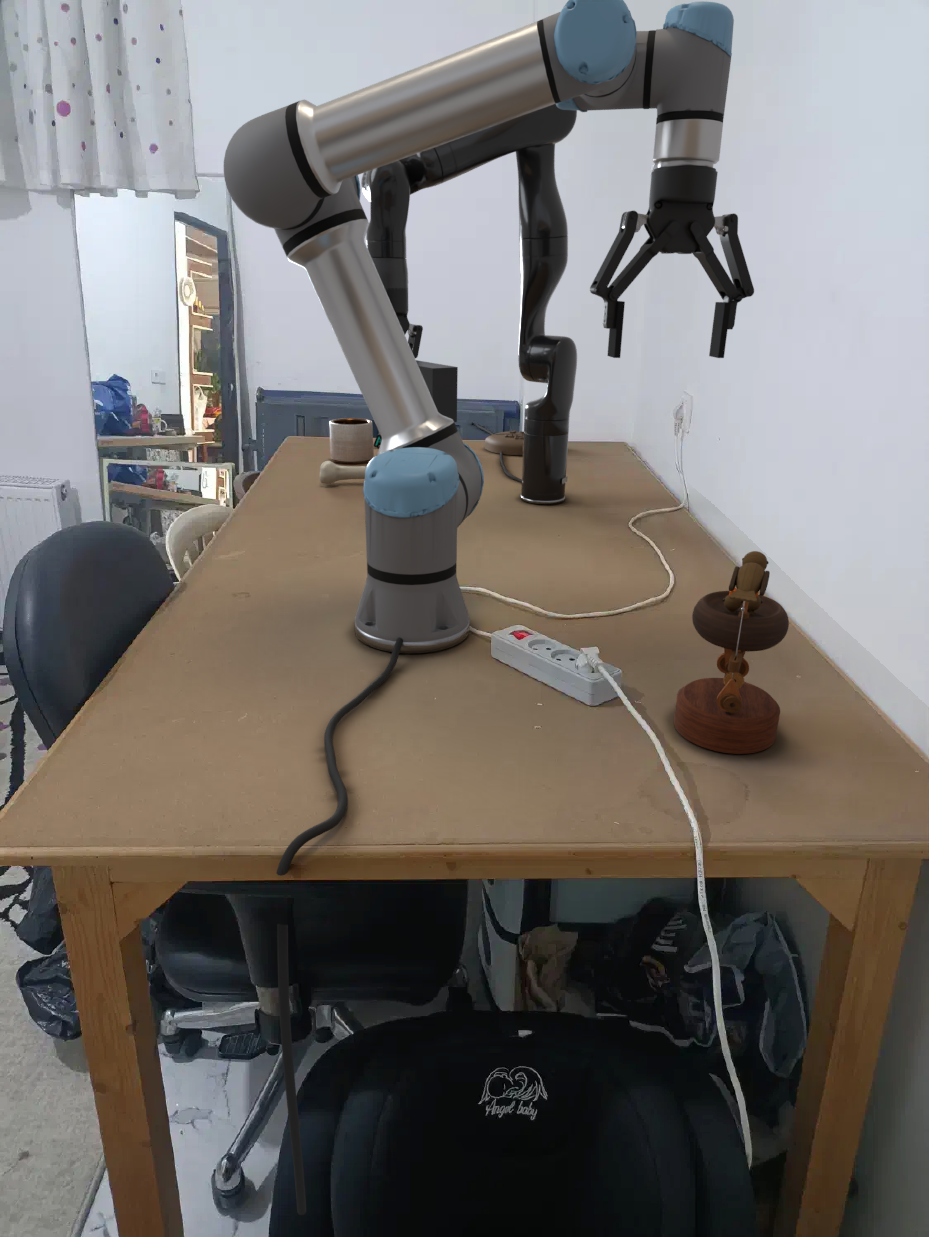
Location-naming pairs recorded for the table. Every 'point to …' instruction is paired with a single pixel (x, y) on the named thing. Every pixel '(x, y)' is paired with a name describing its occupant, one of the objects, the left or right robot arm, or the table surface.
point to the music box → (734, 665)
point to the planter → (351, 440)
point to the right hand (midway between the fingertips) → (388, 383)
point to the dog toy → (340, 472)
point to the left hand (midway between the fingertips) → (665, 357)
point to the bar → (441, 386)
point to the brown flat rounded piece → (506, 443)
